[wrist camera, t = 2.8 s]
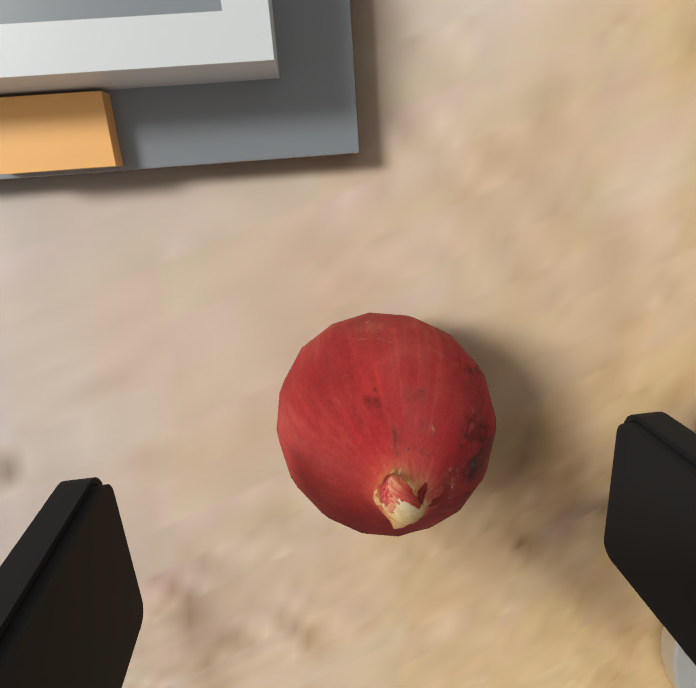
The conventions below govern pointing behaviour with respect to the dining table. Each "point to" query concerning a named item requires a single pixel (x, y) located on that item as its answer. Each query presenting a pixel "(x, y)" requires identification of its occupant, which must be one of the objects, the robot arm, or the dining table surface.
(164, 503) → the dining table surface
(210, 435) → the dining table surface
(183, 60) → the tray
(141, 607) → the robot arm
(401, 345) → the onion
